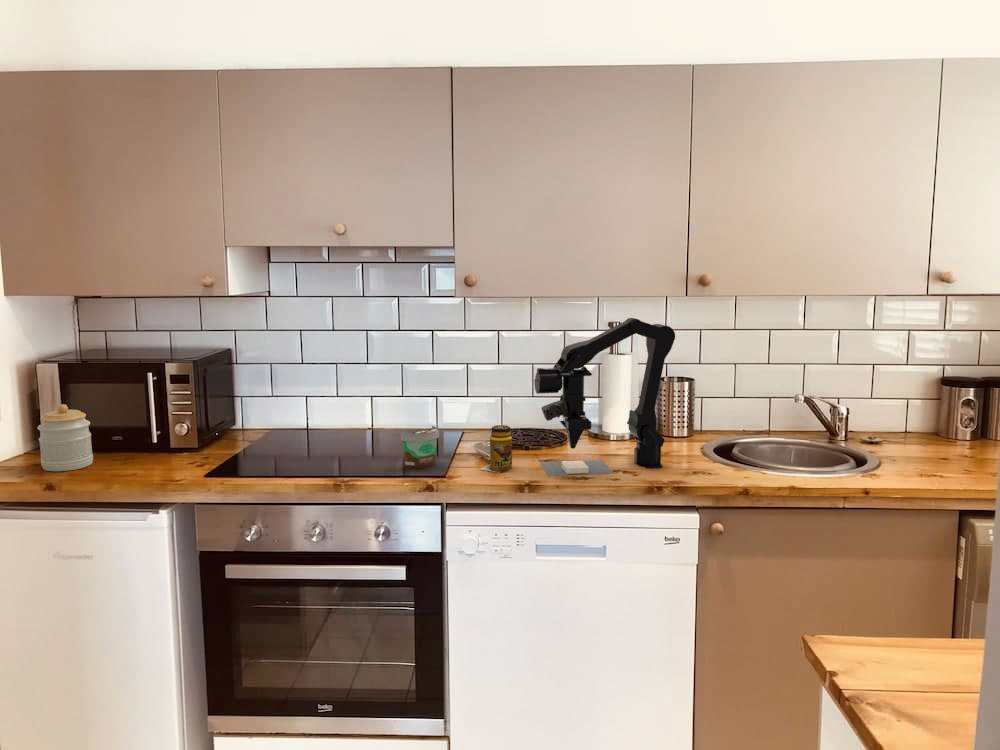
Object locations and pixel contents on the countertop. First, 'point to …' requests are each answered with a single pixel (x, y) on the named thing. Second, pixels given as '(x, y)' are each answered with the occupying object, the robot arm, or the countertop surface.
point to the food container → (420, 448)
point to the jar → (65, 440)
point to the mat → (593, 468)
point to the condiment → (500, 449)
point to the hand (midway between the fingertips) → (572, 448)
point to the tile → (574, 467)
